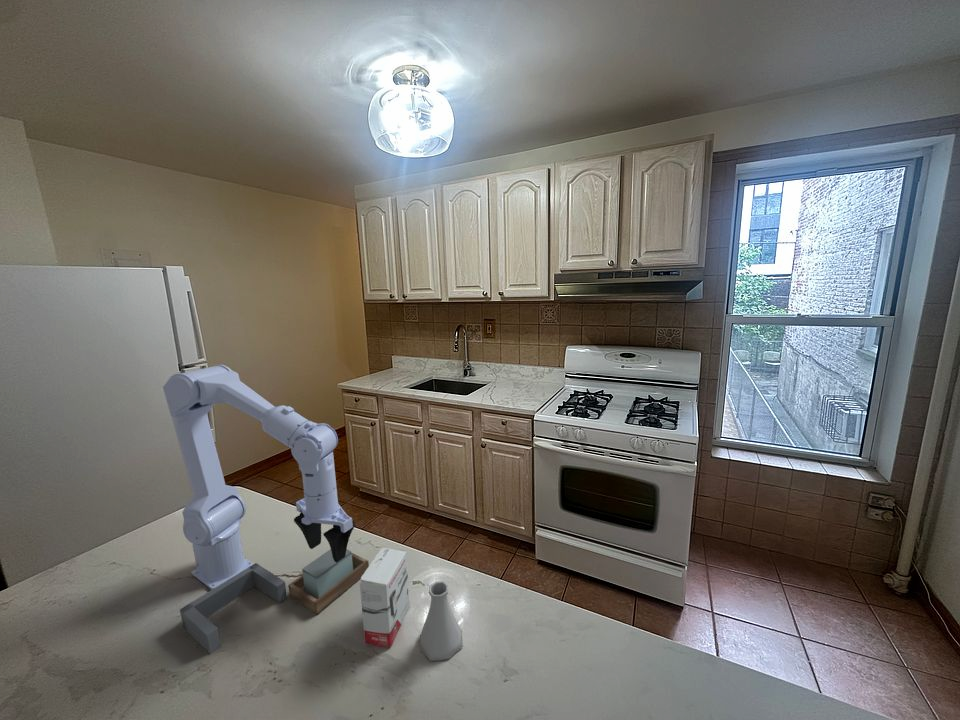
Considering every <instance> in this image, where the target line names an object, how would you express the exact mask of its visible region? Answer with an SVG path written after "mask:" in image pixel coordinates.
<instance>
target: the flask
mask: <svg viewBox="0 0 960 720" xmlns="http://www.w3.org/2000/svg"><path fill="white" fill-rule="evenodd" d="M428 587H429V588H428V594H429V596H430V607H429V610H428V613H427V615H426V619H425V621H424V624H423V627H422V630H421V633H420V644H419V645H420V646H419V649H420V650H421V652H422V653H423V654H424V655H425V657H426V658H427V659H428V661H430V662H432V661H433V662H434V661H441V660H449V659H450V658H452V656H454V655H455V654H456V653H458V651H460V650H461V649H462V648H463V631H462V628H461V626H460V625H459V623H458V620H457V619H456V617H455V615H454V612H453V611H452V608H451V606H450V602H449V600H448V594H449V585H448V584H447V582H445V581H444V580H439V581H435V582H433V583H432V584H430V585H429V586H428Z"/></svg>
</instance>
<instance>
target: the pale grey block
mask: <svg viewBox="0 0 960 720" xmlns="http://www.w3.org/2000/svg"><path fill="white" fill-rule="evenodd" d="M352 553H353V552H352V551H351V550H350V549H348V548H347V549H346V555H345V557H344V558H343V559H341V560H340V561H339V562H337V563H336V562H335V561H334V559H333V556H332V551H331V548H330V549H329V550H327V551H325V552H324V553H323V554H321V555H320V556H319V557H317V558H315V559H314V560H313V561H311V562H310V563H308V564H307V565H305V566H304V567H302V569H301V570H302V575H303V579H304V587H305V592H307V593H308V594H310V595H311V596H313V597H314V598H316V599H318V598H319V597H321V596H322V595H323V594H324V593H326V592H327V591H328V590H329V589H331V588H332V587H333V586H334V585H336V584H337V583H338V582H339V581H341V580H342V579H343V578H344V577H346V576H347V575H348V574H349V573H351V572H352V571H353V563H352Z"/></svg>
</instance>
